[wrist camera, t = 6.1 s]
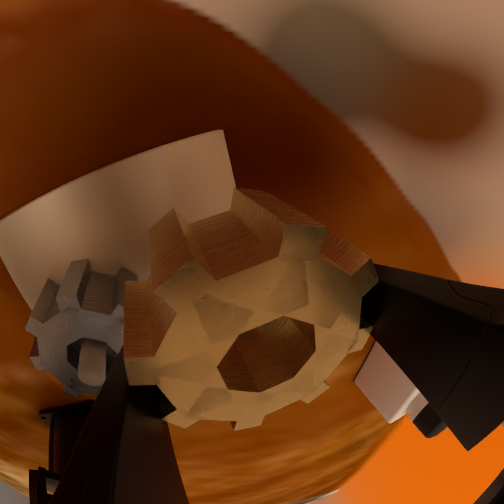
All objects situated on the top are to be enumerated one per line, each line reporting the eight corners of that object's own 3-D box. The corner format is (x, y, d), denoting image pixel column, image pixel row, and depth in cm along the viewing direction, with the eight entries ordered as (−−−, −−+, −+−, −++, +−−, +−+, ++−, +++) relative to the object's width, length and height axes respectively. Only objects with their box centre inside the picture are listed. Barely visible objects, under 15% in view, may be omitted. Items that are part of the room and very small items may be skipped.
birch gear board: (82, 361, 14) (78, 429, 10) (-2, 221, 9) (-54, 268, 5) (256, 300, 17) (296, 359, 12) (216, 129, 12) (259, 130, 7)
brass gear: (175, 382, 9) (193, 448, 7) (93, 238, 6) (68, 303, 4) (322, 322, 11) (365, 370, 8) (308, 166, 8) (382, 191, 5)
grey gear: (94, 373, 13) (93, 413, 11) (21, 298, 10) (2, 336, 7) (179, 330, 14) (190, 371, 12) (110, 235, 11) (101, 268, 8)
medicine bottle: (391, 365, 30) (448, 426, 20) (352, 381, 27) (414, 456, 17) (415, 321, 27) (485, 382, 17) (377, 333, 24) (458, 412, 14)
